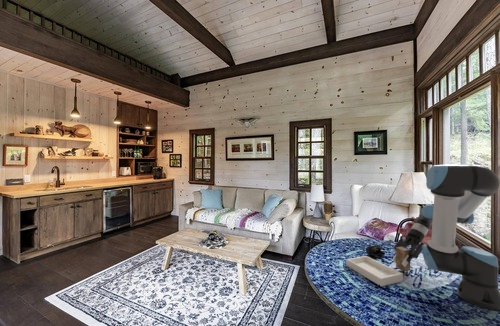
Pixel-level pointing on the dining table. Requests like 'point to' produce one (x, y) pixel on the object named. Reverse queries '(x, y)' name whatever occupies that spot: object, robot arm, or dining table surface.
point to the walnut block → (402, 258)
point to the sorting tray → (374, 270)
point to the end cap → (375, 251)
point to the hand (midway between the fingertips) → (398, 263)
